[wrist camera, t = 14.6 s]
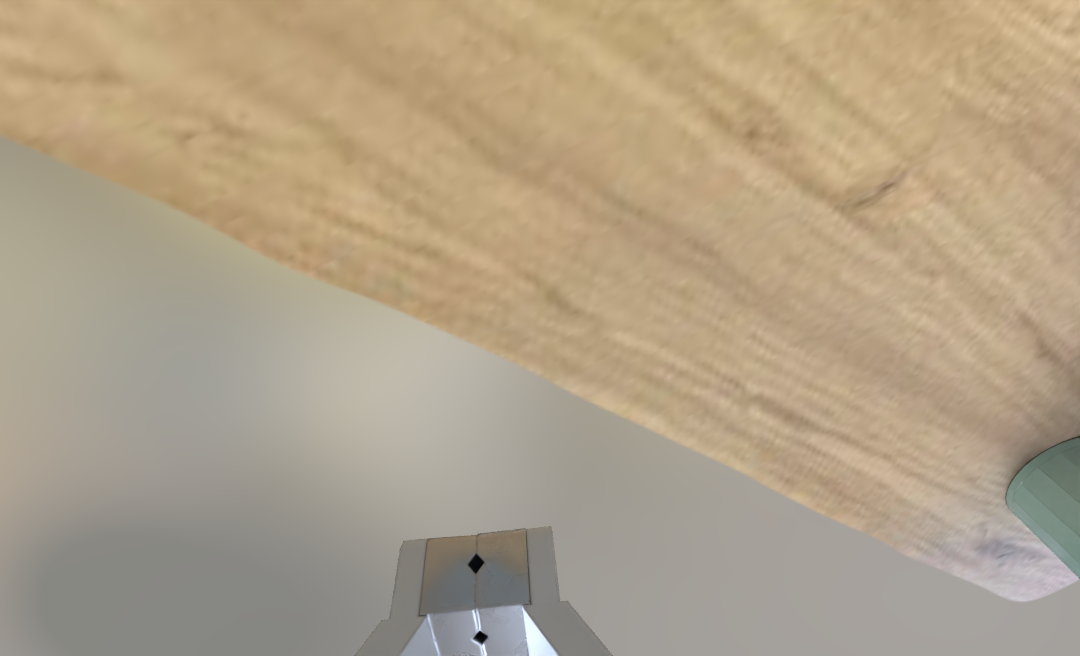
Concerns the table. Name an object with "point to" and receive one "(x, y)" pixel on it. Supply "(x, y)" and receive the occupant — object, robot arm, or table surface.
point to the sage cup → (1051, 500)
